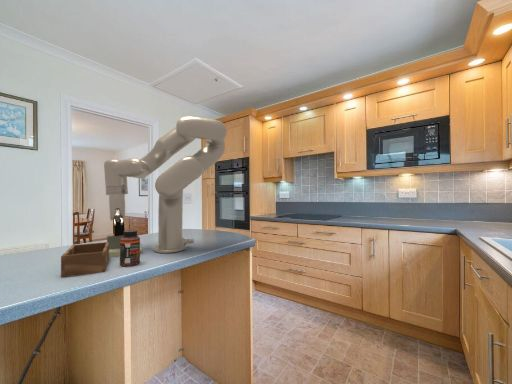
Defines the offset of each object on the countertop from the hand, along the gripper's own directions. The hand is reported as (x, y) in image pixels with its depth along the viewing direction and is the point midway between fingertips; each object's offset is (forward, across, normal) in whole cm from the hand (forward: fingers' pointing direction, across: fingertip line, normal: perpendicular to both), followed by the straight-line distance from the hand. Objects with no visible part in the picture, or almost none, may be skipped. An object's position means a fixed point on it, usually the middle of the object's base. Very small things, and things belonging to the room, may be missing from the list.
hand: (119, 233), depth 93 cm
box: (+7, +16, -9) cm, 19 cm away
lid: (+7, 0, -2) cm, 8 cm away
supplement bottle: (+8, +18, +3) cm, 20 cm away
